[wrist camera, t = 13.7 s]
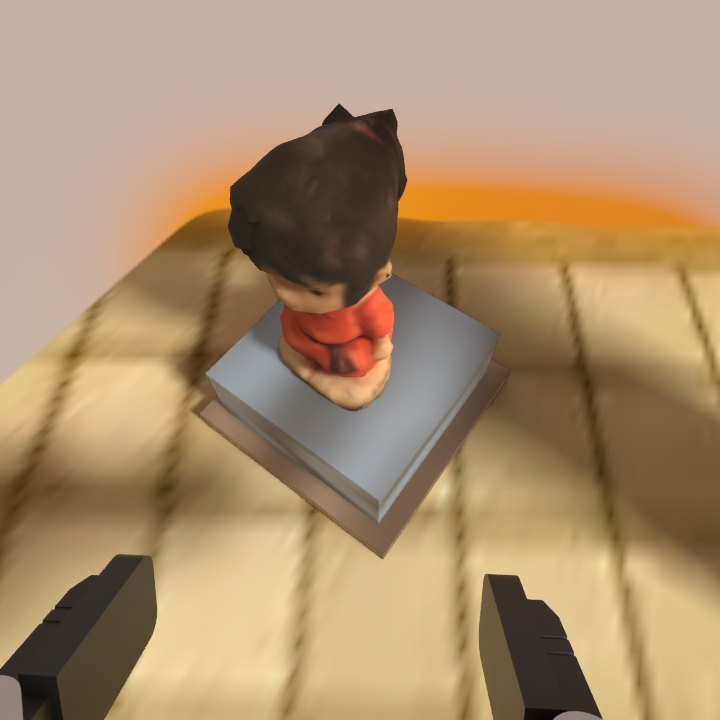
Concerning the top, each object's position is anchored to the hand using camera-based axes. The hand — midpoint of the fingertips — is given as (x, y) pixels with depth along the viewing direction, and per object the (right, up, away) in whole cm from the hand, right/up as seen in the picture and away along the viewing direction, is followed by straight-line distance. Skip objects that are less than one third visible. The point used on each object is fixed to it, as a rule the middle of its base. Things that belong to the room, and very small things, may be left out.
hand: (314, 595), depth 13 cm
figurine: (0, +6, +12) cm, 14 cm away
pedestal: (+1, +3, +17) cm, 17 cm away
